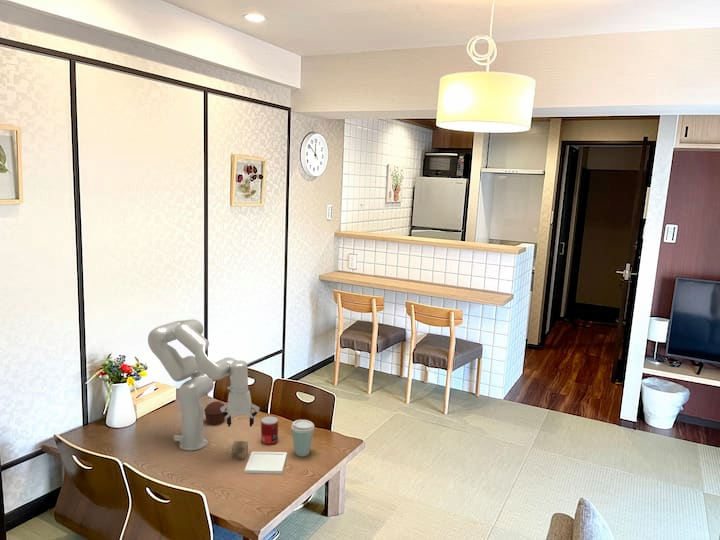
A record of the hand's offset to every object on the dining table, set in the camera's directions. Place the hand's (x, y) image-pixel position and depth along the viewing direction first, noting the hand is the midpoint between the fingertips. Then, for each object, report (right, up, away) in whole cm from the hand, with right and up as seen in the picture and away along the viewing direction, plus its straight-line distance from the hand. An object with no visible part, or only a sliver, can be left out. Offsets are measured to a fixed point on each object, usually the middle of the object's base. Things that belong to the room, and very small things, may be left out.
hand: (240, 425), depth 242 cm
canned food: (+10, -13, +18) cm, 24 cm away
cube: (-1, -15, +3) cm, 15 cm away
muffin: (-21, -9, +37) cm, 43 cm away
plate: (+12, -16, -3) cm, 20 cm away
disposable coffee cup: (+27, -15, +7) cm, 32 cm away
